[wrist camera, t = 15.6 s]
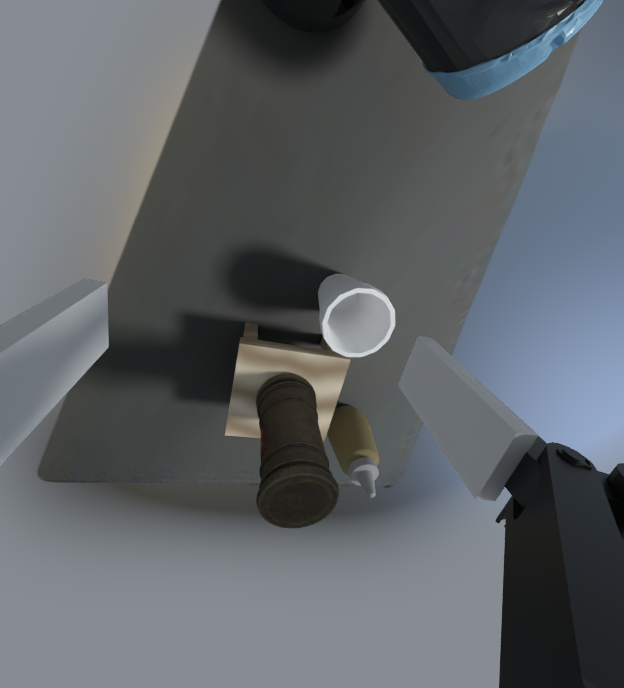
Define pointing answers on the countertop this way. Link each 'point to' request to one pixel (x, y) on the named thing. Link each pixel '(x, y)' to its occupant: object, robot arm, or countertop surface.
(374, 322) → the foam cup
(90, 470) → the countertop surface
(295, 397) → the container
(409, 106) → the countertop surface
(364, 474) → the squeeze bottle
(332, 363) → the beige flat-topped legged fixture
